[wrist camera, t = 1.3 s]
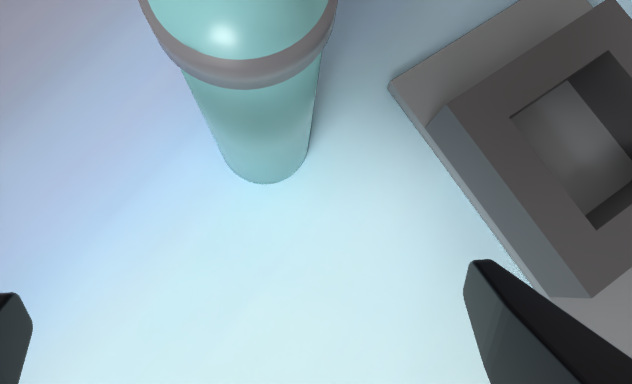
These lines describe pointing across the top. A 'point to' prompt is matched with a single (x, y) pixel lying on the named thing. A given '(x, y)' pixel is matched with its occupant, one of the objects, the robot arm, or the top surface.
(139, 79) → the top surface
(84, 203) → the top surface
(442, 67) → the holder board
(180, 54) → the teal cylinder
